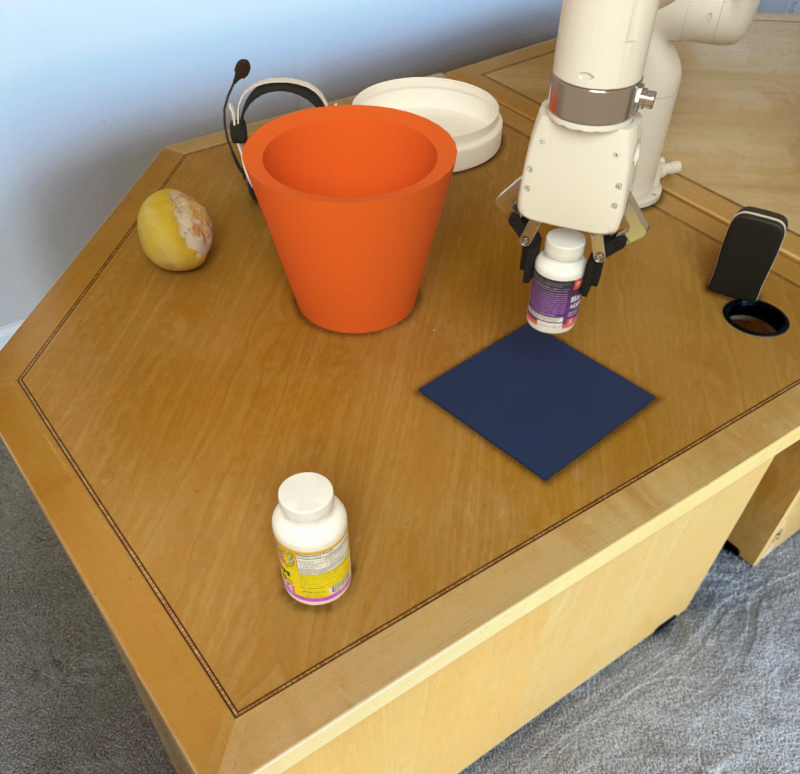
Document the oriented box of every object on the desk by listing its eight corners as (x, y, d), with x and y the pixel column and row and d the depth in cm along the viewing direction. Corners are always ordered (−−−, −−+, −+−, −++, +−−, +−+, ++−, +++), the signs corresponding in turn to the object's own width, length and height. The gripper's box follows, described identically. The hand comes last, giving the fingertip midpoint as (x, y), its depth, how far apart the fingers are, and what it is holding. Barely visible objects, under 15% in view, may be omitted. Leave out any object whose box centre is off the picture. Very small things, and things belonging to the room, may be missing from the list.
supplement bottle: (283, 555, 76) (267, 464, 66) (350, 550, 76) (343, 460, 66) (283, 611, 72) (264, 523, 62) (353, 606, 72) (346, 518, 62)
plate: (532, 149, 132) (536, 115, 128) (404, 190, 123) (405, 156, 119) (440, 95, 146) (442, 64, 142) (319, 129, 137) (317, 96, 133)
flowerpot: (484, 315, 101) (500, 166, 86) (319, 379, 93) (304, 225, 78) (386, 231, 115) (385, 89, 99) (234, 280, 106) (207, 133, 91)
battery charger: (762, 291, 105) (796, 212, 97) (755, 305, 103) (789, 226, 94) (712, 277, 108) (740, 198, 99) (704, 290, 105) (733, 211, 97)
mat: (529, 324, 100) (529, 322, 100) (655, 399, 91) (655, 396, 91) (418, 391, 92) (418, 388, 91) (545, 481, 82) (546, 478, 82)
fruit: (159, 292, 104) (141, 223, 97) (138, 254, 110) (119, 186, 103) (230, 274, 107) (218, 205, 100) (206, 238, 113) (192, 170, 106)
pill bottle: (573, 338, 81) (592, 255, 74) (523, 332, 82) (536, 248, 74) (576, 309, 85) (594, 226, 77) (528, 303, 85) (541, 220, 78)
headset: (232, 212, 118) (208, 70, 103) (238, 187, 123) (216, 48, 108) (343, 211, 118) (335, 70, 103) (344, 187, 123) (337, 48, 108)
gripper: (700, 96, 66) (646, 282, 80) (510, 65, 70) (490, 248, 84) (686, 131, 61) (631, 322, 75) (484, 96, 65) (468, 283, 79)
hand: (557, 281), depth 79 cm, fingers closed on pill bottle, 5 cm apart
